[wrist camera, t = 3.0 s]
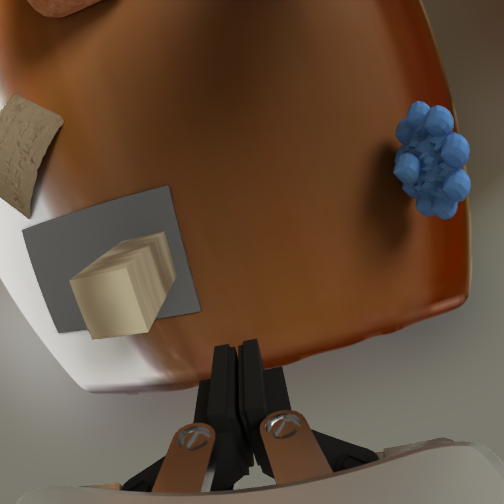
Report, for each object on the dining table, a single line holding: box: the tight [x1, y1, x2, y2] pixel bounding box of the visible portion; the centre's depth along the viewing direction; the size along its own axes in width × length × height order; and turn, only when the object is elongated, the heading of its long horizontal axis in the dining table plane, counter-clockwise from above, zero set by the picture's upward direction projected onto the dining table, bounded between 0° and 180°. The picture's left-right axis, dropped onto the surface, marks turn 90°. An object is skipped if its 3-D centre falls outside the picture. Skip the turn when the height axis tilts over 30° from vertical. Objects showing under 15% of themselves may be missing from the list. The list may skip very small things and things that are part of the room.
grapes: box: [393, 101, 470, 220], centre depth 26 cm, size 12×7×12 cm, turn 18°
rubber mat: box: [22, 185, 201, 333], centre depth 33 cm, size 20×14×1 cm
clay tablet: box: [0, 93, 64, 219], centre depth 28 cm, size 14×10×3 cm
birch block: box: [69, 231, 177, 340], centre depth 27 cm, size 5×5×12 cm
